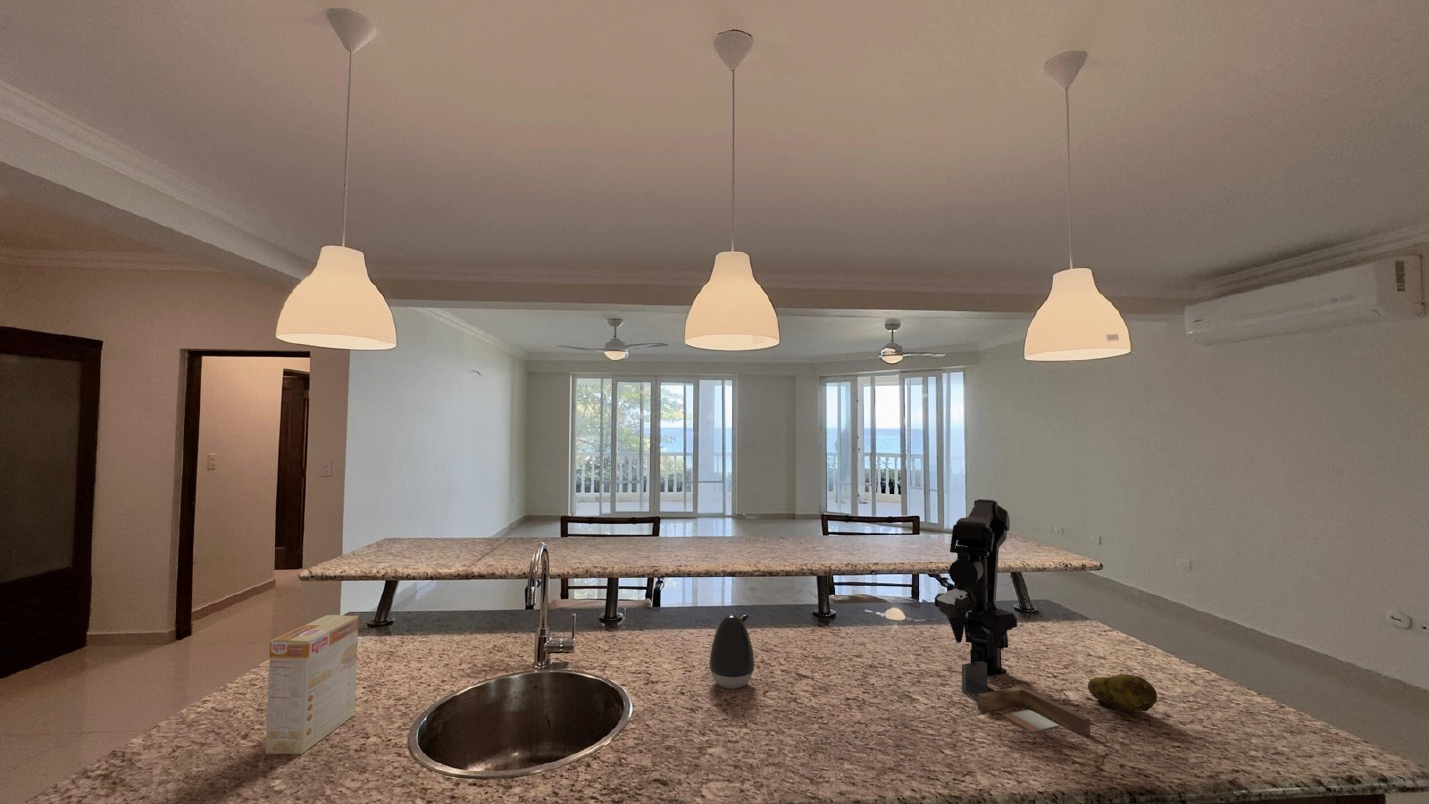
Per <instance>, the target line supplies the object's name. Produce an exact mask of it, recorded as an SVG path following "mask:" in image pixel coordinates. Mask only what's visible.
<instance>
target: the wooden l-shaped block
mask: <svg viewBox="0 0 1429 804" xmlns="http://www.w3.org/2000/svg"><path fill="white" fill-rule="evenodd" d="M977 700H978V701H977ZM977 700H976V701H977V710H978V711H980V712H982V713H988V712H992V711H996V710H1002V709H1006V708H1010V707H1016V706H1021V705H1023V706H1024V707H1026V708H1028V709H1029V710H1031V711H1033V712H1035V713H1036V712H1037V714H1039V715H1041V716H1043V717H1045V718H1047V719H1049V720H1051V721H1053V722H1055V723H1057V724H1060V725H1061V726H1063V727H1066V728H1067V729H1070V730H1071V731H1073V732H1076V733H1078V734H1079V735H1081V736H1083V737H1089V736H1091V719H1090V717H1087V716H1085V715H1083V714H1081V713H1079V712H1077V711H1075V710H1072V709H1070V708H1069V707H1066V706H1064V705H1062V704H1061V703H1058V702H1056V701H1053V700H1052V699H1050V698H1047V697H1046V696H1043V695H1041V694H1039V693H1037V692H1035V691H1033V690H1031V689H1028V688H1027V687H1024V686H1022V685H1020V684H1017V685H1014V686H1013V687H1009V688H1003V689H996V691H992V692H986V693H981V694H977Z"/></svg>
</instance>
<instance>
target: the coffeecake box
mask: <svg viewBox="0 0 1429 804" xmlns="http://www.w3.org/2000/svg"><path fill="white" fill-rule="evenodd" d="M358 632H359V615H342V614H327V615H324V616H322V617H320V618H318V619H316V620H313V621H311V622H309V623H307V624H304V625H302V626H300V627H298V628H296V629H293V630H291V631H289V632H287V633H285V634H283V635H280V636H278V637H276V638H274V639H271V640H269V655H268V656H269V659H268V661H269V662H268V681H267V683H268V685H267V704H266V705H267V706H266V709H267V710H266V728H265V730H266V731H265V735H266V736H265V752H264V753H265V755H266V754H267V755H268V754H269V755H280V754H281V755H303V754H304V753H306V752H307V751H308V750H310V749H311V748H312V747H313V746H315V745H316V744H317V743H319V742H320V741H321V740H323V739H324V738H325V737H327V736H328V735H330V734H331V733H332V732H333V731H335V730H337V729H338V728H339V727H340V726H342V725H343V724H344V723H346V722H347V721H348V720H350V719H351V718H353V717H354V716H355V715H356V693H357V692H356V691H357V689H356V688H357V669H358V668H357V666H358V663H357V660H358V642H359V641H358V637H359V636H358V635H359V634H358Z"/></svg>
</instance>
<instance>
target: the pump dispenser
mask: <svg viewBox="0 0 1429 804" xmlns="http://www.w3.org/2000/svg"><path fill="white" fill-rule="evenodd" d="M748 618H749V616H748V614H743V615H742V616H741V617H739V616H738V615H734V614H729V615H727V616H725V617H723V618H722V619H721V621H720V623H719V624H718V626H717V628H716V631H715V634H714V637H713V640H712V643H711V649H710V654H709V662H708V663H709V665H708V666H709V667H708V668H709V671H710V673H711V677H712V678H713V680H714V682H715V683H716V684H717V685H719V686H721V687H722V688H725V689H732V690H734V689H740V688H743V687H744V686H746V685H747V684H748V683H749V682H750V680H751V679H752V676H753V673H754V671H755V657H754V650H753V645H752V642H751V637H750V634H749V632H748V629H747V626H746V624H745V622H746V621H747V620H748Z"/></svg>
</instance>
